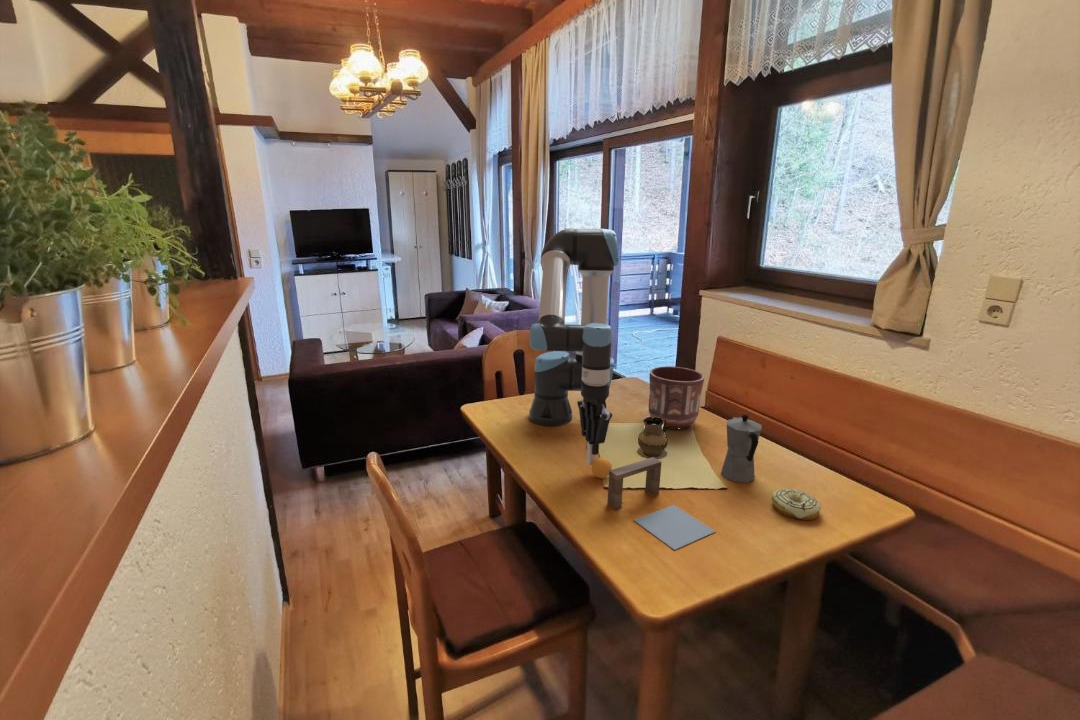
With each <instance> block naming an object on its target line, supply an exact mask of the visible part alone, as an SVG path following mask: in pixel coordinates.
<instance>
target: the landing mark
mask: <svg viewBox="0 0 1080 720" xmlns="http://www.w3.org/2000/svg"><path fill="white" fill-rule="evenodd" d="M633 522H635V523H636V524H638V525H639V526H640V527H642V528H643V529H644V530H646V531H648V533H650V534H651V535H653V536H654V537H655V538H657V539H658V540H659V541H661V542H662V543H663V544H665V545H666V546H668V547H669V548H671V549H672V550H673V551H677V550H679V549H681V548H683V547H685V546H688V545H691V544H692V543H694V542H697V541H699V540H702V539H703V538H705V537H709V536H710V535H713V534H715V533H716V532H717V531H715V530H714V529H713V528H711V527H709V526H708V525H706V524H705V523H703V522H701V521H700V520H698V519H696V518H695V517H693V516H692V515H690V514H689V513H687V512H686V511H685V510H682V508H680V507H677V506H676V505H675V504H672V505H670V506H666V507H664V508H662V509H660V510H657V511H655V512H651V513H649V514H647V515H644V516H641V517H638V518H636V519H634V520H633Z"/></svg>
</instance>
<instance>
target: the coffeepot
mask: <svg viewBox="0 0 1080 720" xmlns="http://www.w3.org/2000/svg"><path fill="white" fill-rule="evenodd" d="M748 418H749V414H746V413H744V414H741V417H739V416H736V417H735V416H732V418H731V419H727V421H726V441H727V443H726V445H727V446H726V447H727V452H726V453H725V454H726V455H725V457H724V461H723V465H722V467H721V473H720V475H721V476H723V477H724V478H725V479H727V480H729V481H732V482H735V483H744V484H745V483H751V482H753V481H754V480H755V454H756V450H757V447H758V445H759V439H760V436H761V432H762V424H761V423H758V422H756V421H754V420H752V419H748Z"/></svg>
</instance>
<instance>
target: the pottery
mask: <svg viewBox="0 0 1080 720" xmlns="http://www.w3.org/2000/svg"><path fill="white" fill-rule="evenodd" d="M704 381H705V375H704V374H703V373H701V372H700V371H697V370H695V369H690V368H686V367H680V366H658V367H654V368H651V370H649V398H648V413H649V417H650V418H651V417H659V418H662V419H664V420H666V421H667V428H666V429H668V428H673V429H672V430H679V429H678V428H684V429H686V428H685V427H687V428H689V427H691V425H693V424H694V423H695V422H696V420H697V419H698V417H699V411H700V401H701V396H702V391H703V386H704ZM674 428H675V429H674Z"/></svg>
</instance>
